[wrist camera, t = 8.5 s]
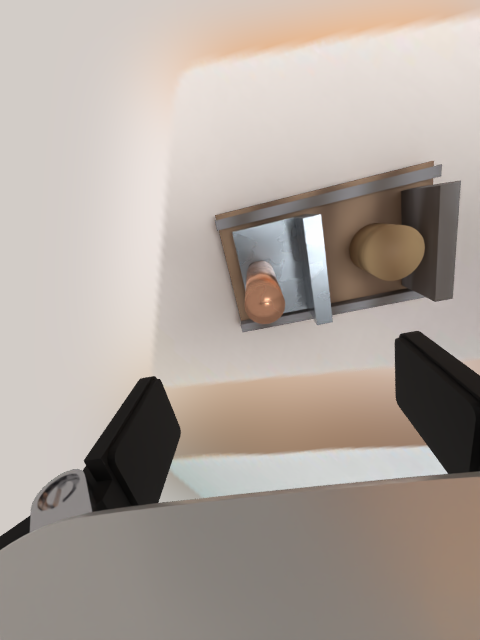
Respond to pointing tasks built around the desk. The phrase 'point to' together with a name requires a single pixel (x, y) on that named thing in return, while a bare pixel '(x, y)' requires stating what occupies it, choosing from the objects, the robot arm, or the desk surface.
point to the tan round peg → (387, 250)
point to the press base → (346, 220)
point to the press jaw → (284, 269)
